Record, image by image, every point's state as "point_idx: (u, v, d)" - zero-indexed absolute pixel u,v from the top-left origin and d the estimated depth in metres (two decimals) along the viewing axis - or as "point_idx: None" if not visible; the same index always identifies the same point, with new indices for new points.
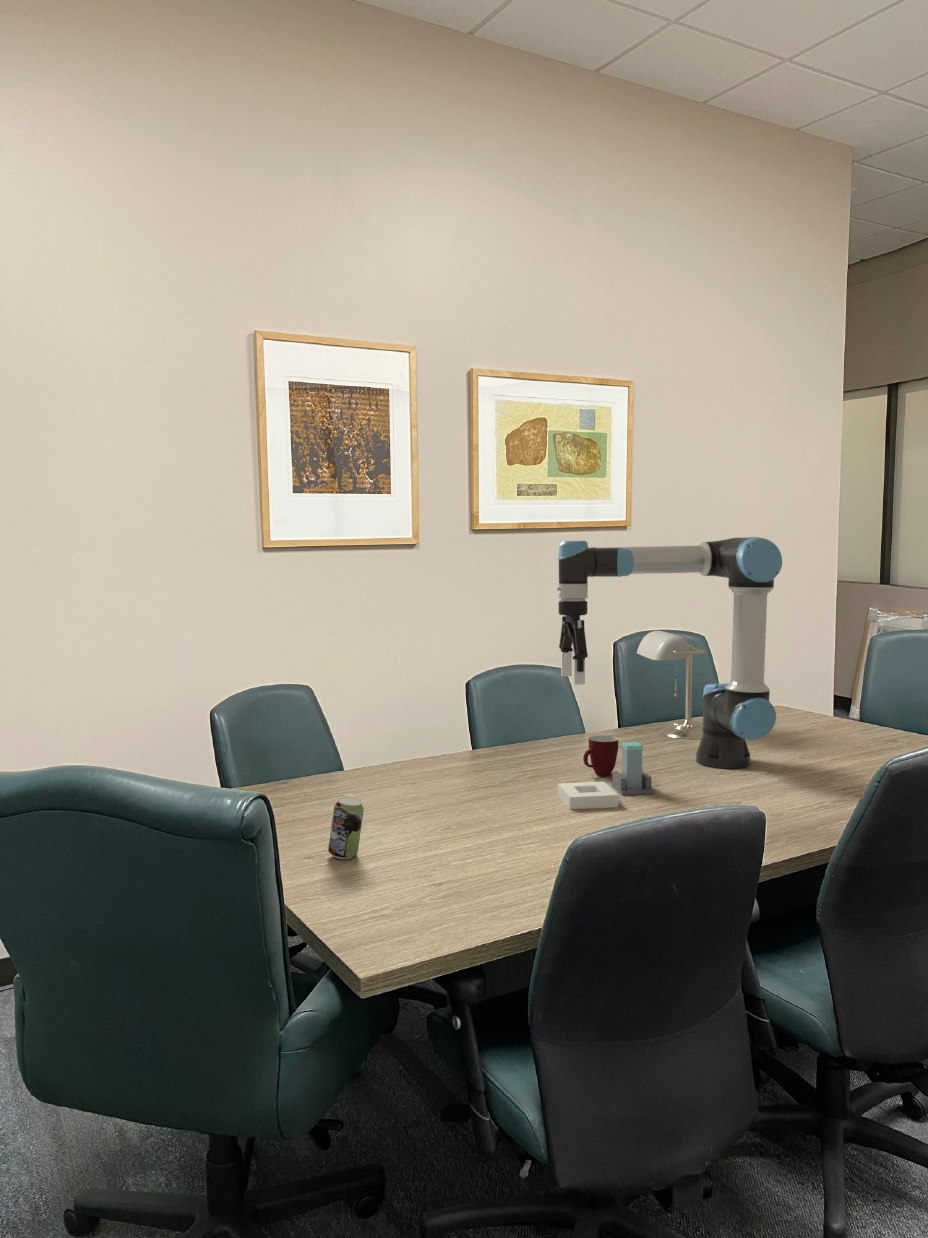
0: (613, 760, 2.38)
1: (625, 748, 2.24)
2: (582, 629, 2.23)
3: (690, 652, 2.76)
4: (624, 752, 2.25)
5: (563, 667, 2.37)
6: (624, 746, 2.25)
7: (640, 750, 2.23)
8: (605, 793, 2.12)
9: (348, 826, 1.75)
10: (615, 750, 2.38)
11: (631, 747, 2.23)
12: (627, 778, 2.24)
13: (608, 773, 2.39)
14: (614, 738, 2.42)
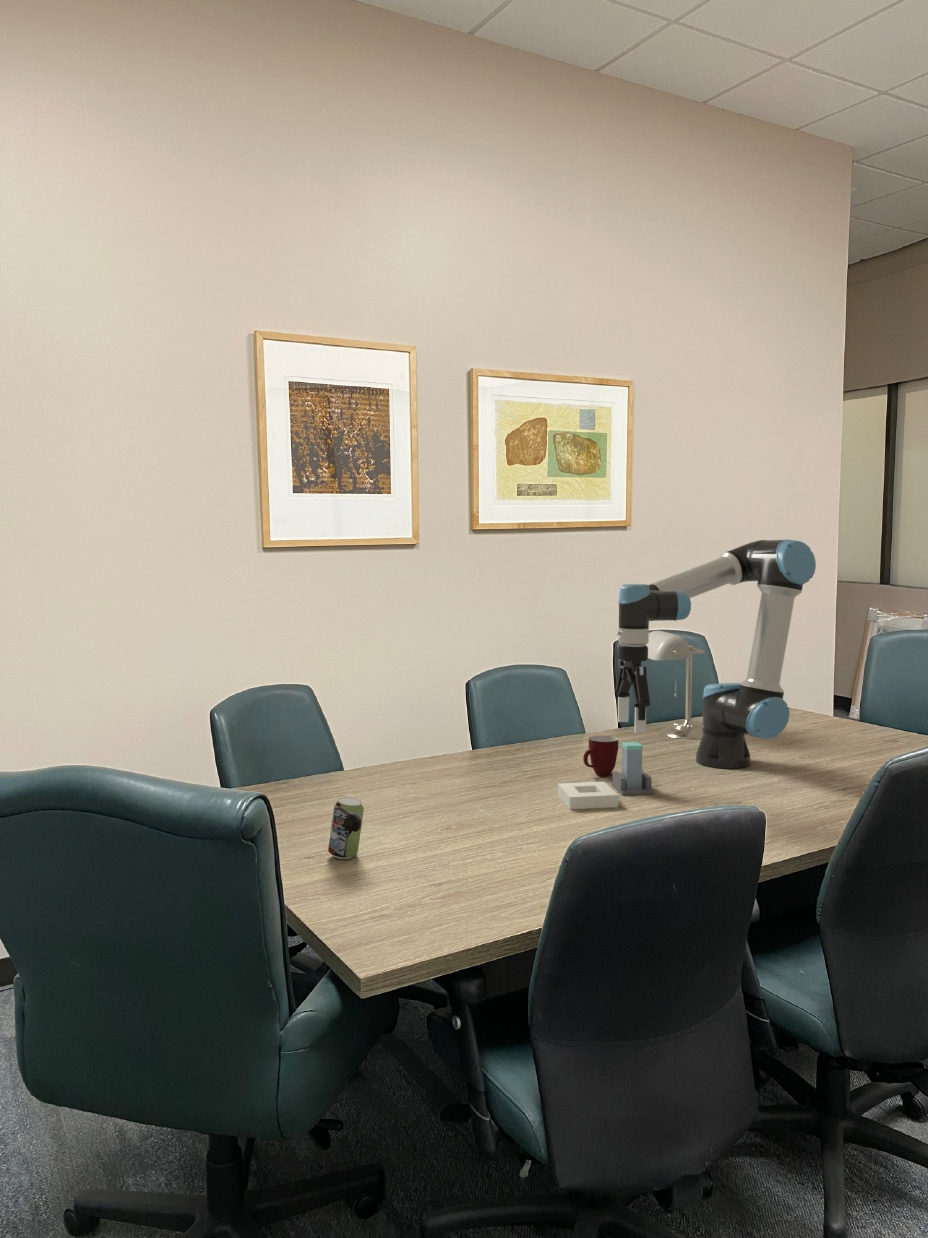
0: (613, 760, 2.38)
1: (625, 748, 2.24)
2: (644, 676, 2.16)
3: (690, 652, 2.76)
4: (624, 752, 2.25)
5: (620, 712, 2.30)
6: (624, 746, 2.25)
7: (640, 750, 2.23)
8: (605, 793, 2.12)
9: (348, 826, 1.75)
10: (615, 750, 2.38)
11: (631, 747, 2.23)
12: (627, 778, 2.24)
13: (608, 773, 2.39)
14: (614, 738, 2.42)
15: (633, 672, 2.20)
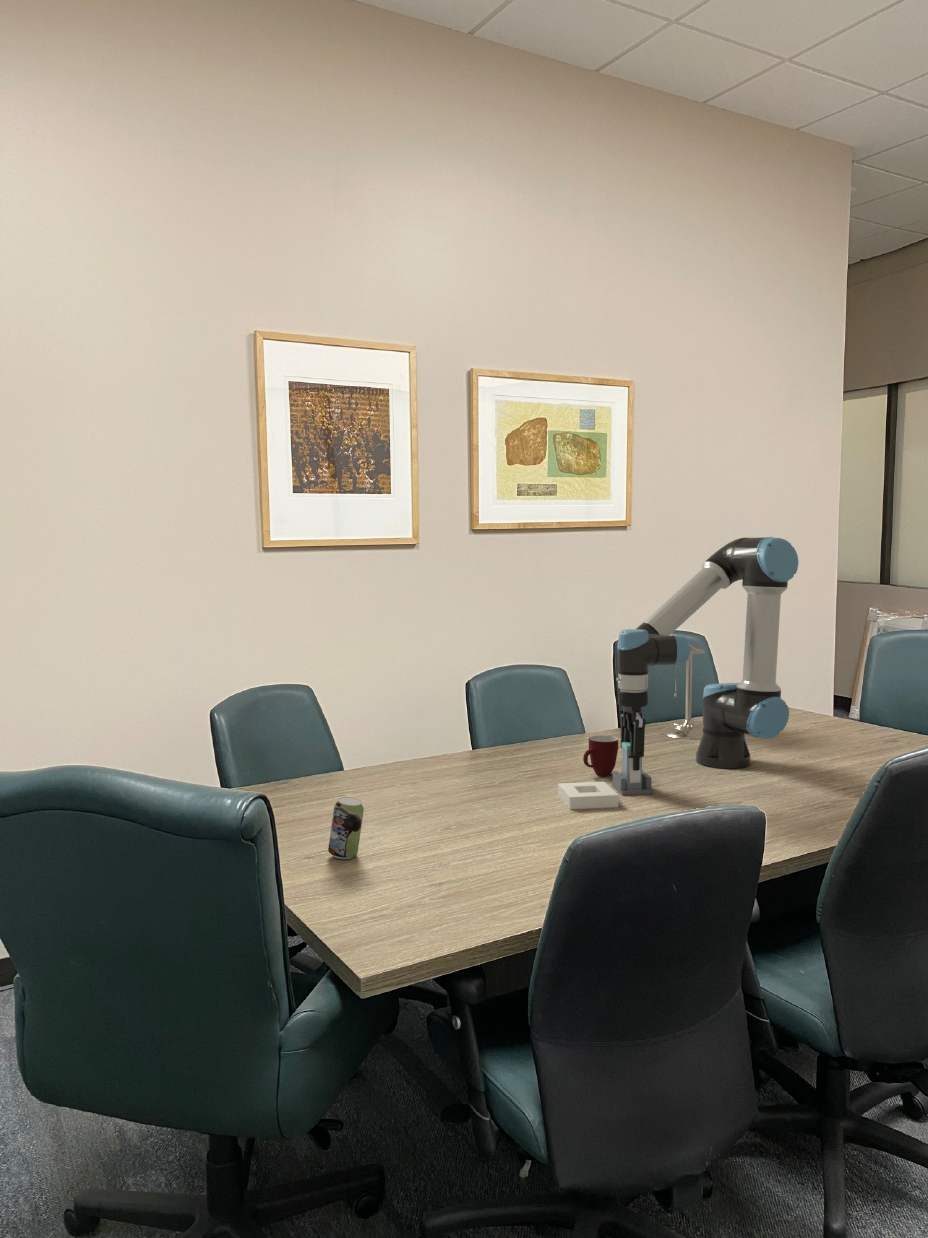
0: (613, 760, 2.38)
1: (625, 748, 2.24)
2: (642, 729, 2.19)
3: (690, 652, 2.76)
4: (624, 752, 2.25)
5: None
6: (624, 746, 2.25)
7: None
8: (605, 793, 2.12)
9: (348, 826, 1.75)
10: (615, 750, 2.38)
11: None
12: (627, 778, 2.24)
13: (608, 773, 2.39)
14: (614, 738, 2.42)
15: (632, 718, 2.21)
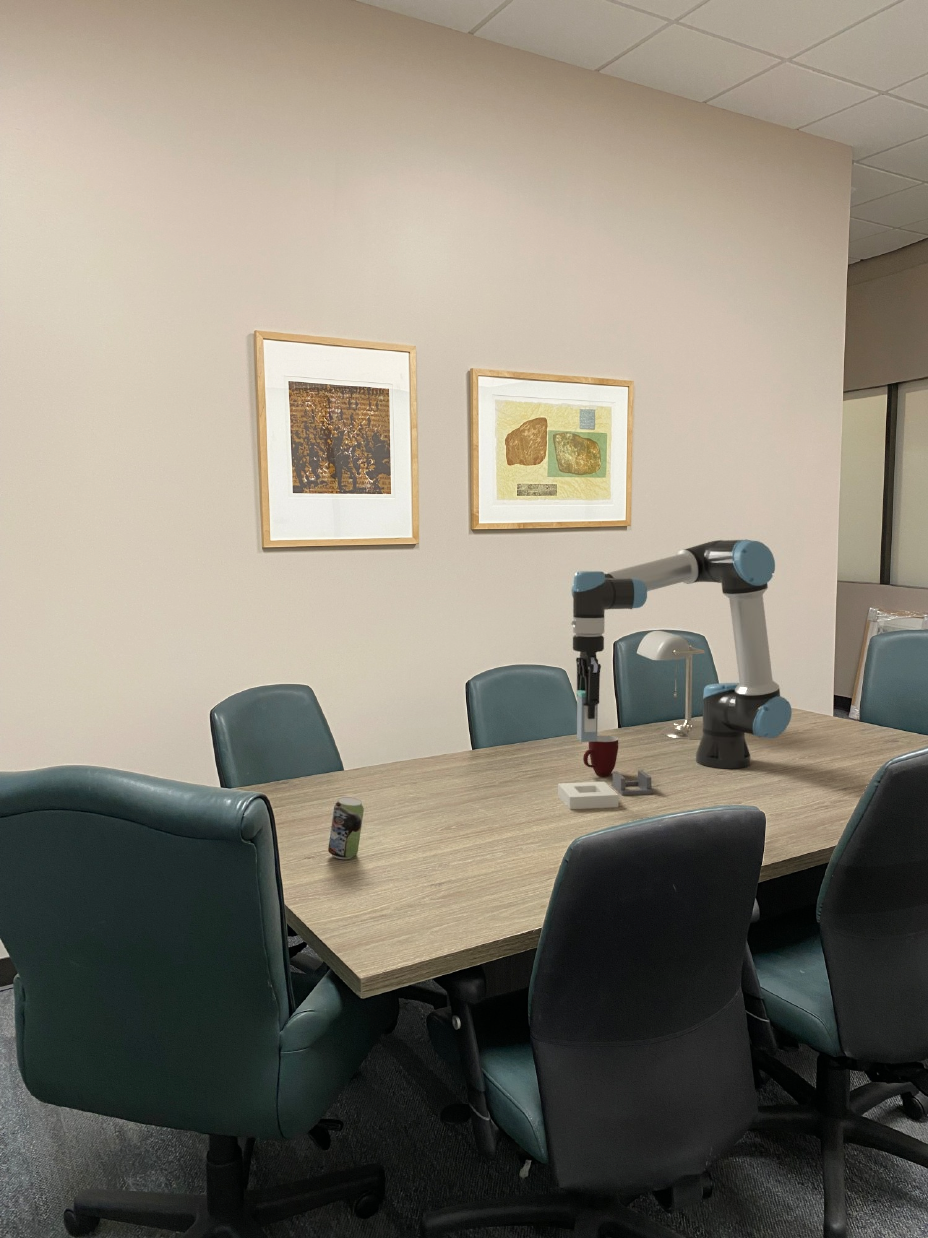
0: (613, 760, 2.38)
1: (580, 695, 2.13)
2: (597, 674, 2.08)
3: (690, 652, 2.76)
4: (579, 700, 2.14)
5: None
6: (579, 693, 2.13)
7: None
8: (605, 793, 2.12)
9: (348, 826, 1.75)
10: (615, 750, 2.38)
11: None
12: (582, 727, 2.12)
13: (608, 773, 2.39)
14: (614, 738, 2.42)
15: (587, 663, 2.10)
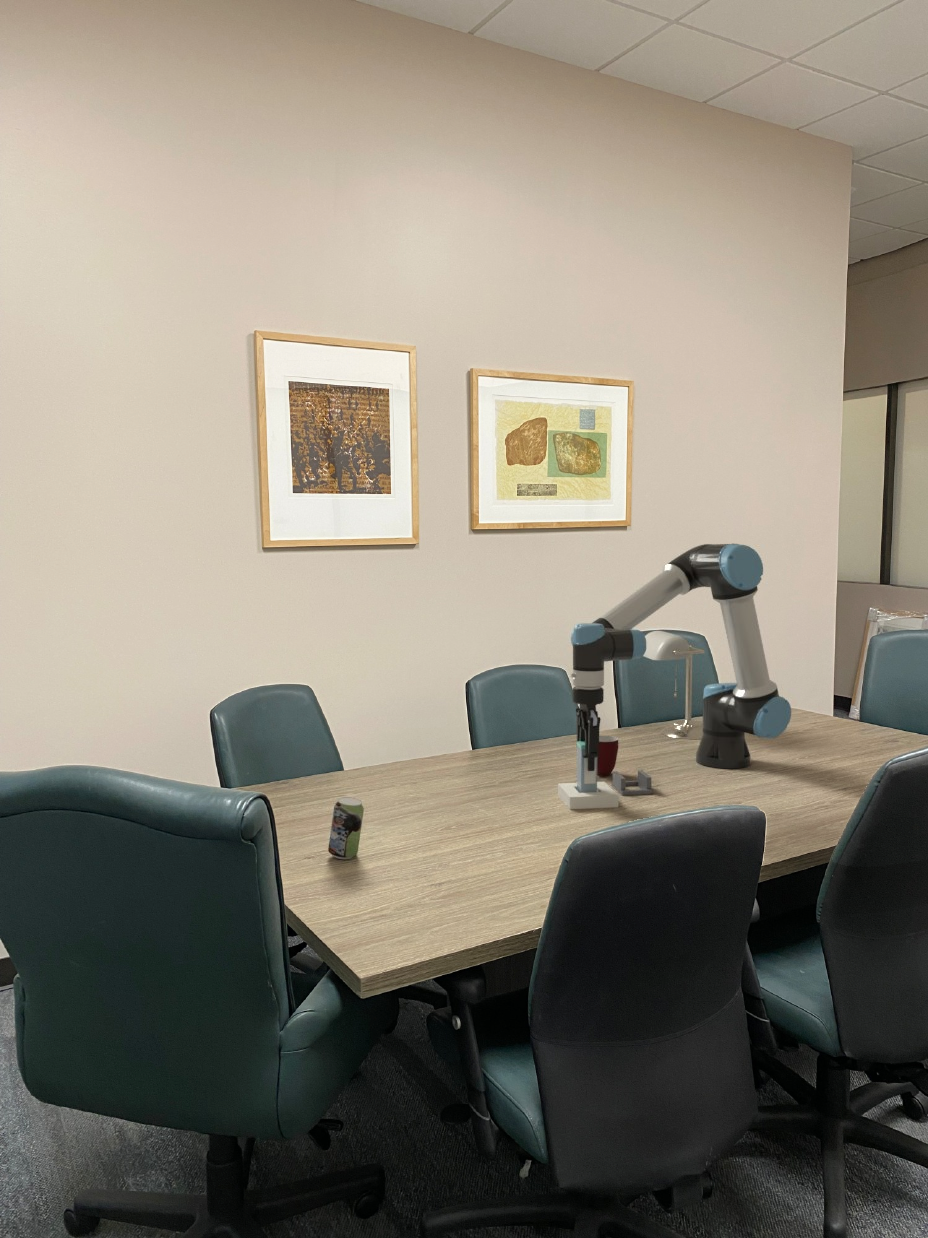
0: (613, 760, 2.38)
1: (580, 747, 2.14)
2: (597, 727, 2.09)
3: (690, 652, 2.76)
4: (579, 752, 2.15)
5: None
6: (579, 745, 2.15)
7: None
8: (605, 793, 2.12)
9: (348, 826, 1.75)
10: (615, 750, 2.38)
11: None
12: (581, 779, 2.14)
13: (608, 773, 2.39)
14: (614, 738, 2.42)
15: (587, 716, 2.11)
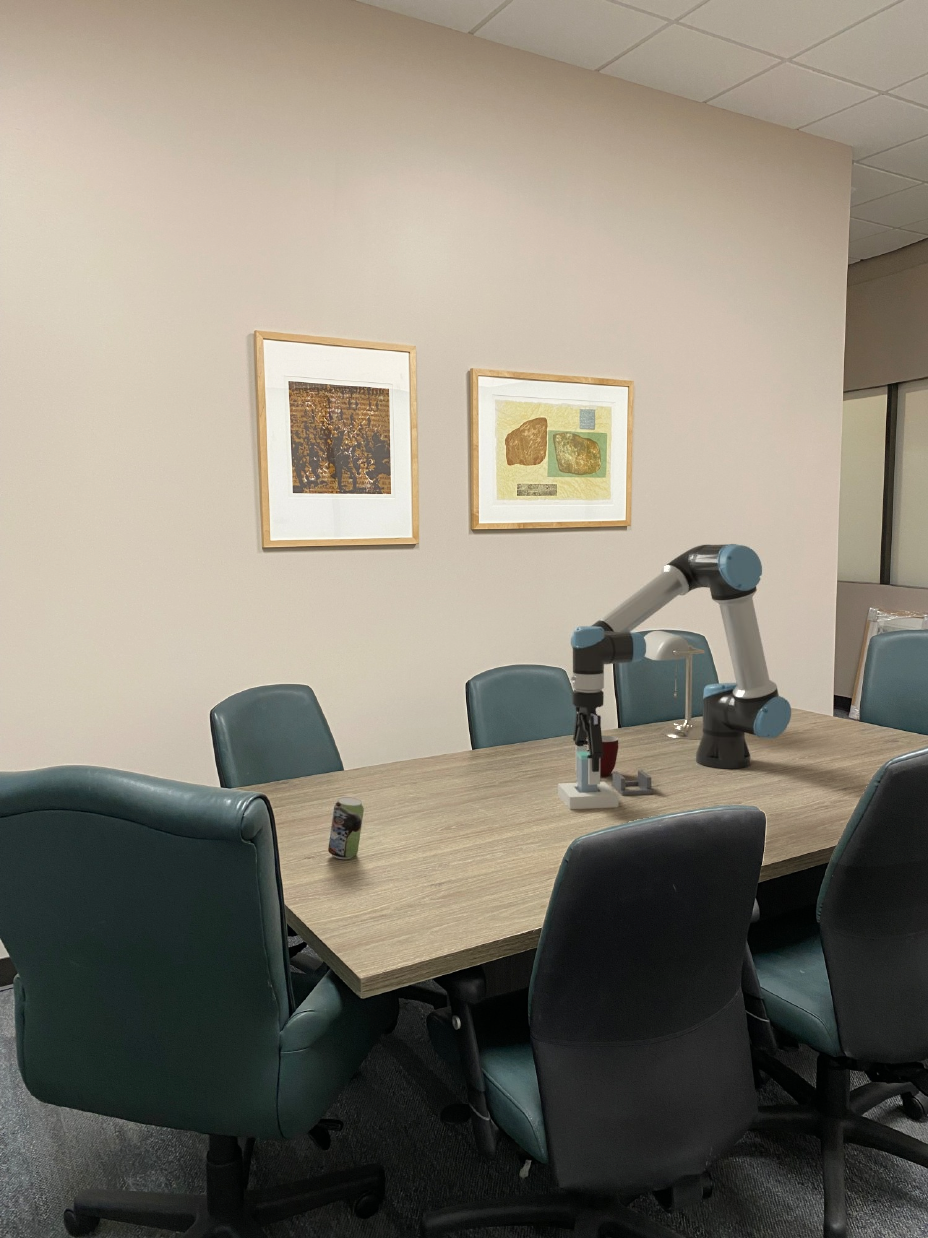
0: (613, 760, 2.38)
1: (580, 758, 2.14)
2: (598, 726, 2.08)
3: (690, 652, 2.76)
4: (579, 762, 2.15)
5: None
6: (579, 755, 2.15)
7: None
8: (605, 793, 2.12)
9: (348, 826, 1.75)
10: (615, 750, 2.38)
11: (586, 756, 2.13)
12: (582, 789, 2.14)
13: (608, 773, 2.39)
14: (614, 738, 2.42)
15: (587, 719, 2.11)
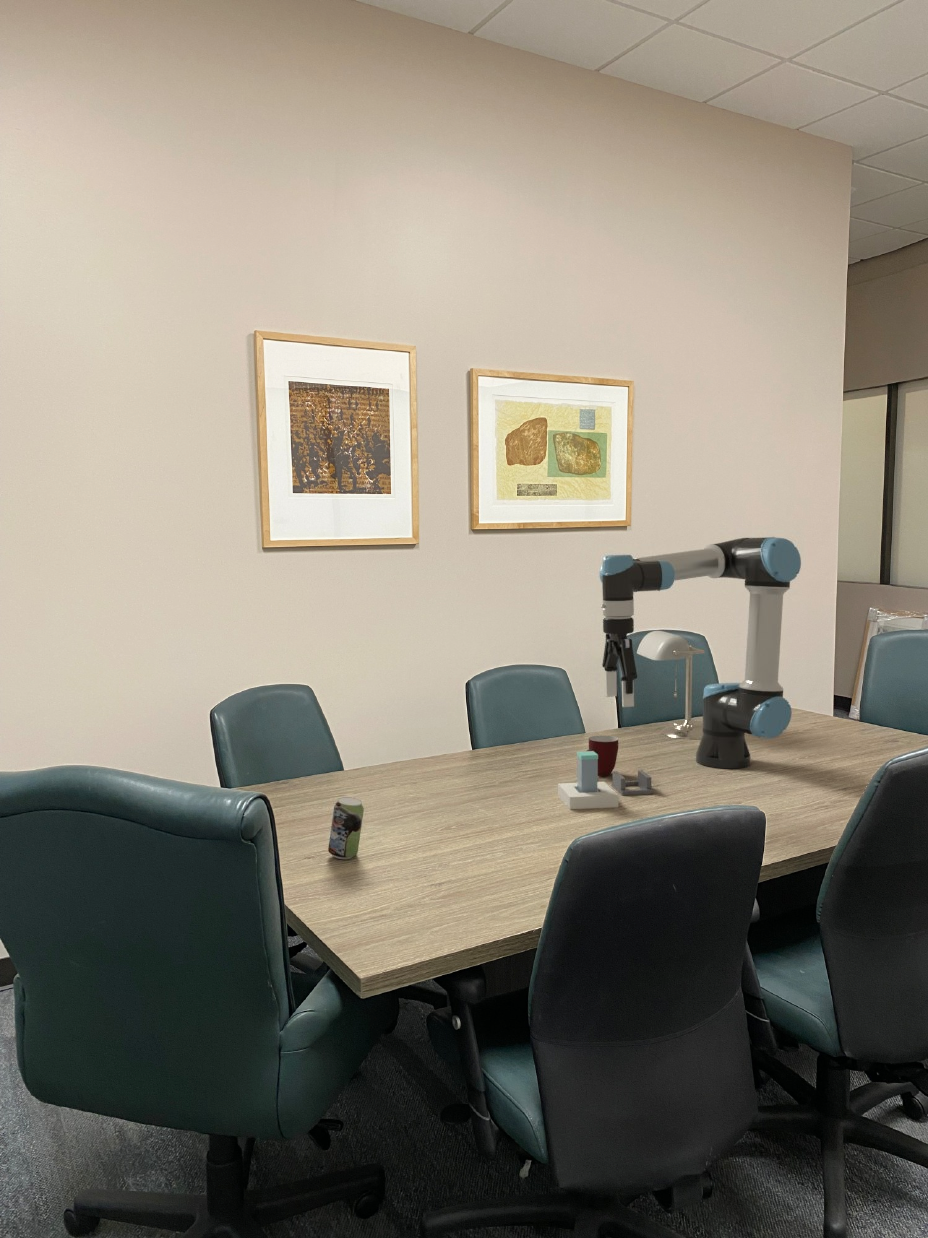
0: (613, 760, 2.38)
1: (580, 758, 2.14)
2: (630, 649, 2.11)
3: (690, 652, 2.76)
4: (579, 762, 2.15)
5: (608, 687, 2.25)
6: (579, 756, 2.15)
7: (595, 760, 2.14)
8: (605, 793, 2.12)
9: (348, 826, 1.75)
10: (615, 750, 2.38)
11: (586, 757, 2.13)
12: (582, 789, 2.14)
13: (608, 773, 2.39)
14: (614, 738, 2.42)
15: (619, 645, 2.14)
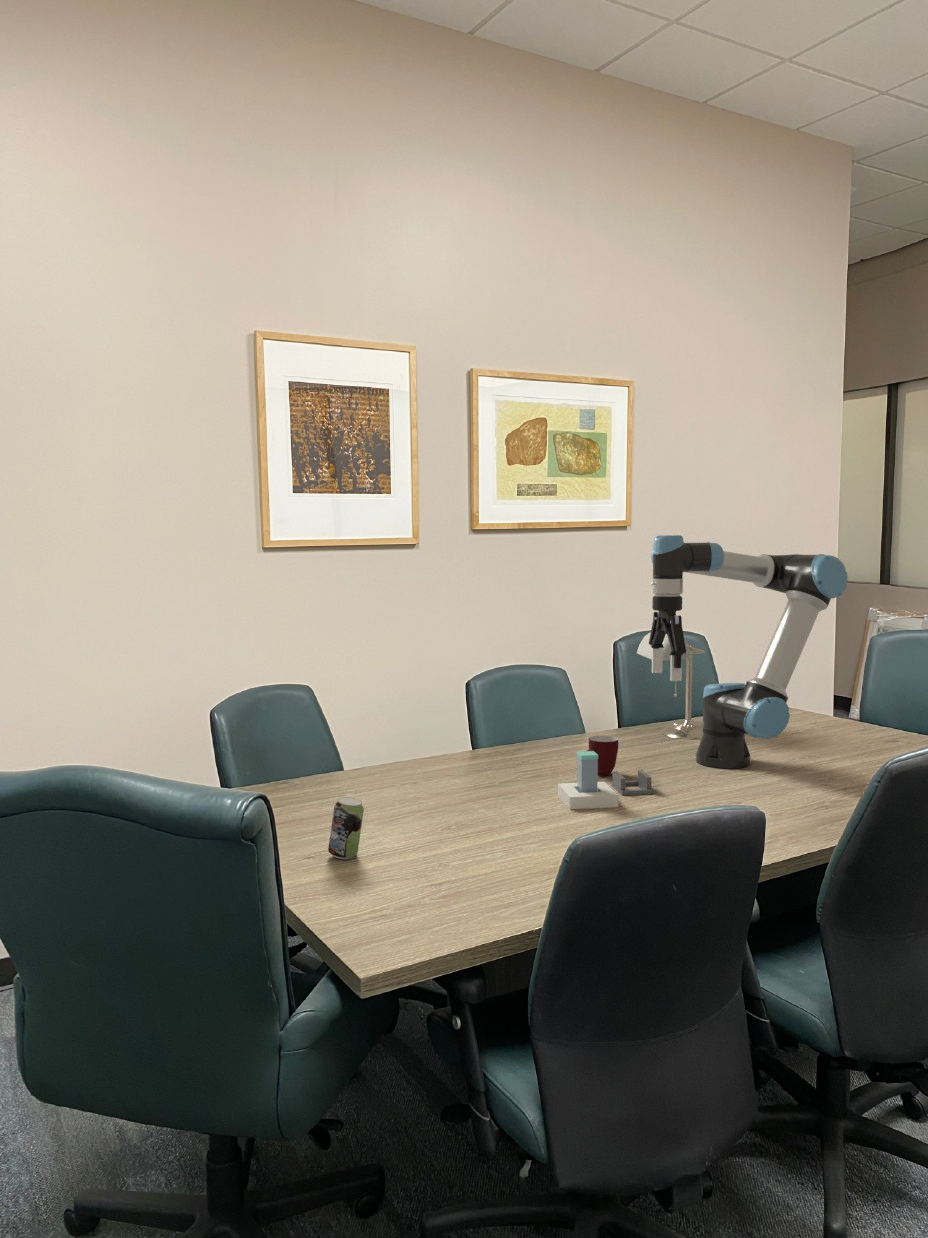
0: (613, 760, 2.38)
1: (580, 758, 2.14)
2: (679, 625, 2.20)
3: (690, 652, 2.76)
4: (579, 762, 2.15)
5: (654, 663, 2.34)
6: (579, 756, 2.15)
7: (595, 760, 2.14)
8: (605, 793, 2.12)
9: (348, 826, 1.75)
10: (615, 750, 2.38)
11: (586, 757, 2.13)
12: (582, 789, 2.14)
13: (608, 773, 2.39)
14: (614, 738, 2.42)
15: (668, 621, 2.23)
